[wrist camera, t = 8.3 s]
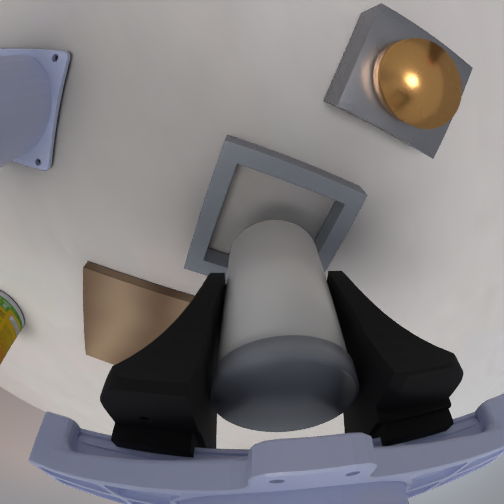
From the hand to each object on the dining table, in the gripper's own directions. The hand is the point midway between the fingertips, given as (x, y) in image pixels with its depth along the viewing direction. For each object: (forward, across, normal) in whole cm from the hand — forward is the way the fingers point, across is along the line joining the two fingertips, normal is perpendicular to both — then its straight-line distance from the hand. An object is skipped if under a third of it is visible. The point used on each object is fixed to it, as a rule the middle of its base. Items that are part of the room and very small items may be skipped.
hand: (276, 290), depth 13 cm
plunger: (+6, -7, -9) cm, 13 cm away
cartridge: (+2, 0, 0) cm, 2 cm away
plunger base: (+7, -7, -9) cm, 13 cm away
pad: (+7, +10, +10) cm, 16 cm away
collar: (+7, 0, 0) cm, 7 cm away
